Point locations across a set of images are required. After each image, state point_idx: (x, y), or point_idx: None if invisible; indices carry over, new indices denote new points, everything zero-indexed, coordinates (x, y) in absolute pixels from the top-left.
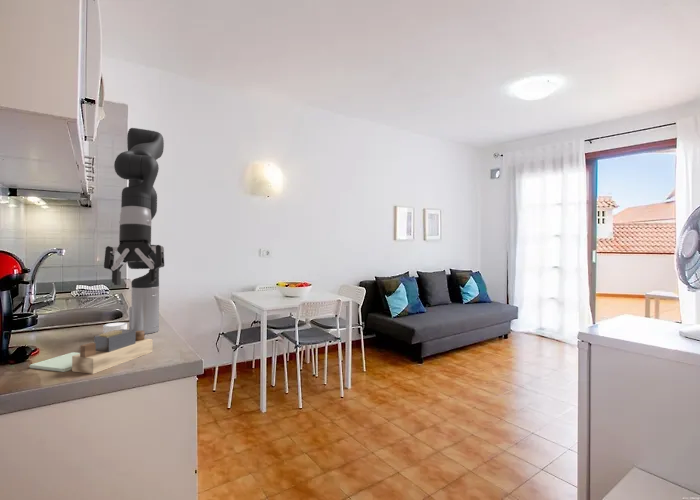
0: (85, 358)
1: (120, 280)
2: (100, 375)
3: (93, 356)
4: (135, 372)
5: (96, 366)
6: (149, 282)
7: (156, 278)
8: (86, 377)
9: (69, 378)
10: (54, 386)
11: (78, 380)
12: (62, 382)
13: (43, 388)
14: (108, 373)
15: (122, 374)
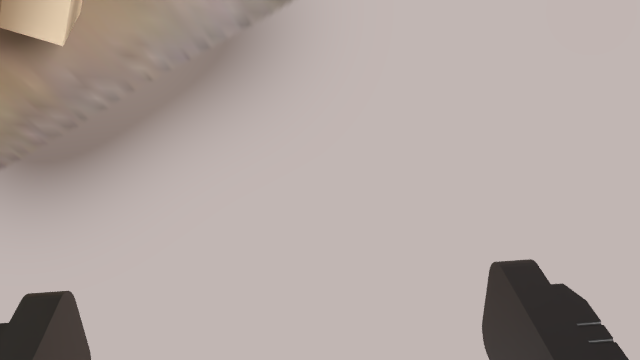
0: (4, 27)
1: (49, 334)
2: (132, 34)
3: (31, 7)
4: (280, 3)
5: (77, 9)
6: (494, 343)
7: (592, 314)
8: (84, 56)
9: (12, 64)
10: (33, 145)
11: (78, 89)
12: (26, 108)
13: (8, 161)
14: (153, 9)
15: (231, 27)
